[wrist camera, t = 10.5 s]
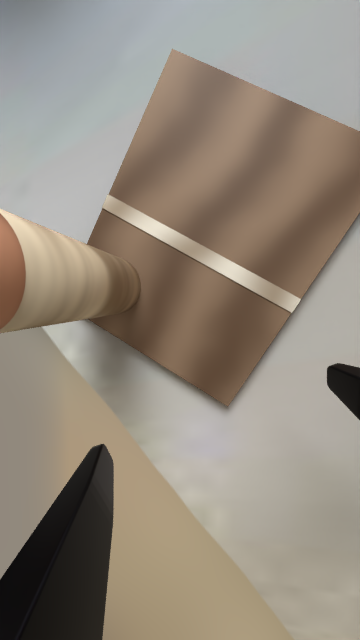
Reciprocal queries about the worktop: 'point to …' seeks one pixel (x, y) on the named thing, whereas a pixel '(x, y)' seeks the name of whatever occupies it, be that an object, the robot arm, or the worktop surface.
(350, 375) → the robot arm
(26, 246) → the wooden pin
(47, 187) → the worktop surface
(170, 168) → the walnut board
